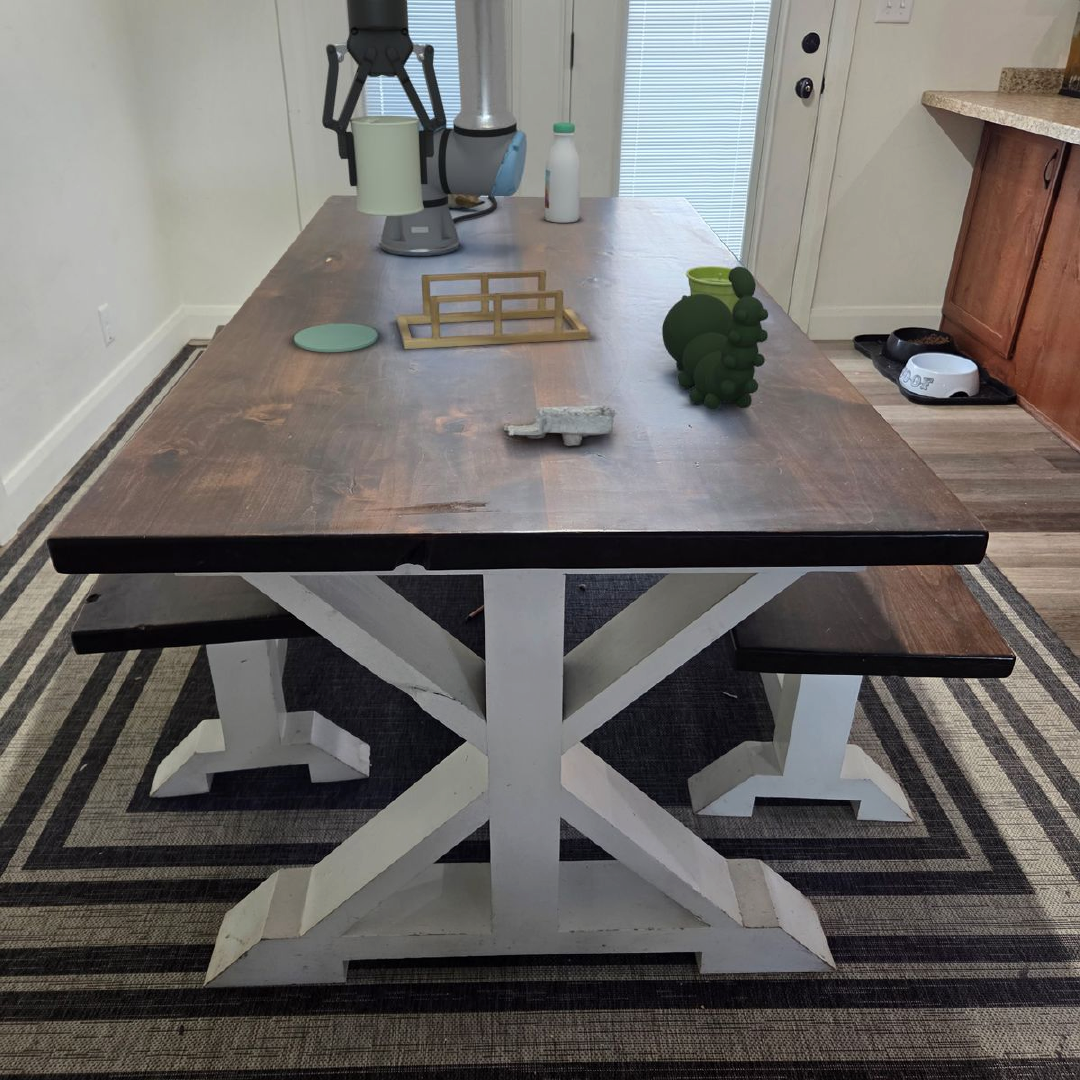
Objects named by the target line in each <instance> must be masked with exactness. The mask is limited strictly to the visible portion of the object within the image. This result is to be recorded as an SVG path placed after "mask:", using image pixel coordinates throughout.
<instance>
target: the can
mask: <svg viewBox="0 0 1080 1080" xmlns="http://www.w3.org/2000/svg"><path fill="white" fill-rule="evenodd" d="M349 124H350V128H351V132H352V135H353V148H354V161H355V174H356V186H355V187H356V188H355V189H356V210H357V212H358V213H361V214H363V215H368V216H374V217H386V216H403V215H411V214H415V213H419V212H421V211H423V209H424V206H423V200H422V186H421V165H420V142H419V119H418V117H412V116H405V115H365V116H357V117H353V118H351V119H350V122H349Z"/></svg>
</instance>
